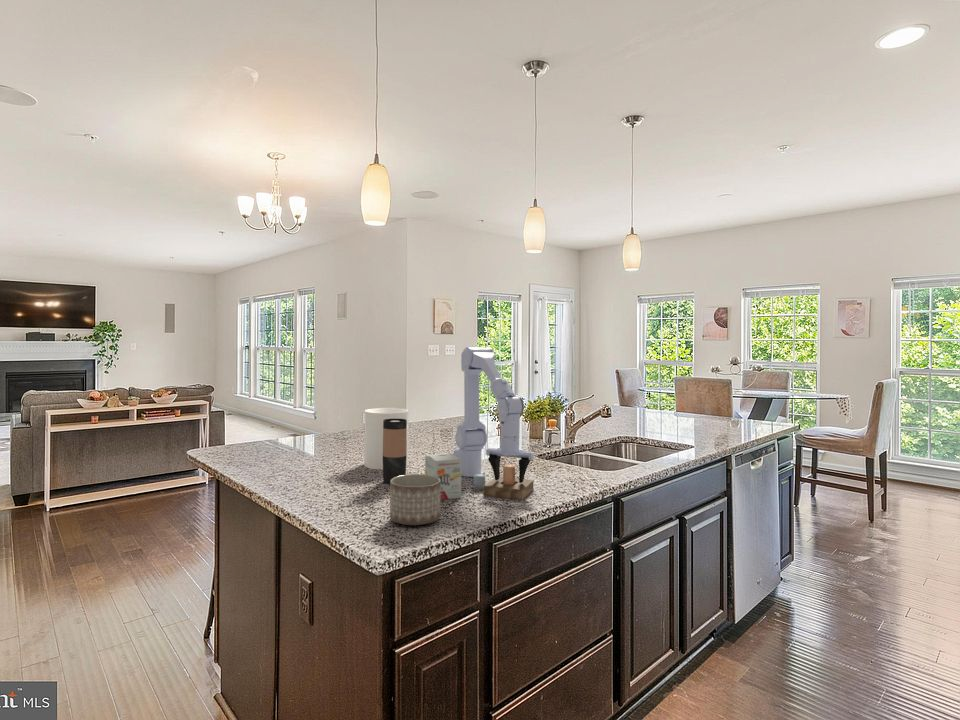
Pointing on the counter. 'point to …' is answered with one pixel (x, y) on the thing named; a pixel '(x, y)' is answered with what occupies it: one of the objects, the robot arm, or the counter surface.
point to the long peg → (509, 475)
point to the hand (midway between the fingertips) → (509, 480)
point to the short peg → (479, 481)
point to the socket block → (508, 489)
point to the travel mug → (394, 448)
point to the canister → (379, 434)
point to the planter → (415, 499)
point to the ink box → (446, 473)
